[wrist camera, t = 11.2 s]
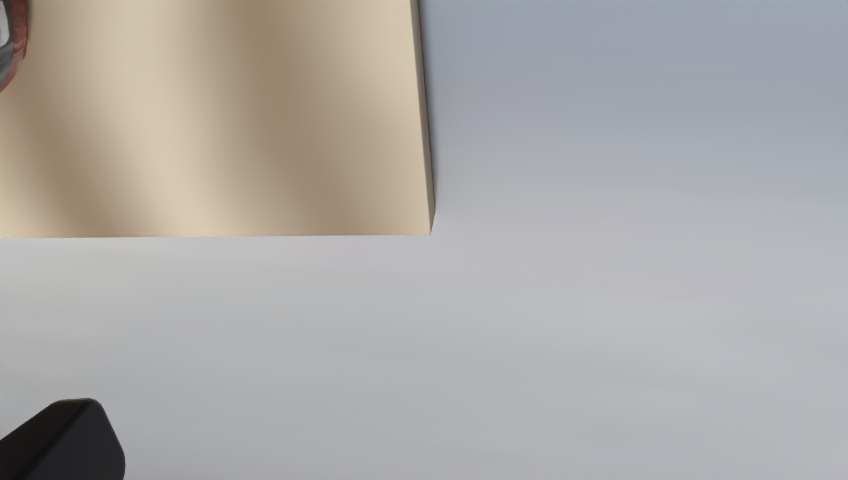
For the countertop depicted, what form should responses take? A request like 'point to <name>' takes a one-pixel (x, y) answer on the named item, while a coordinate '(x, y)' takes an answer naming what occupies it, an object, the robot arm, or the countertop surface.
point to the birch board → (217, 120)
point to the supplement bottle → (12, 39)
